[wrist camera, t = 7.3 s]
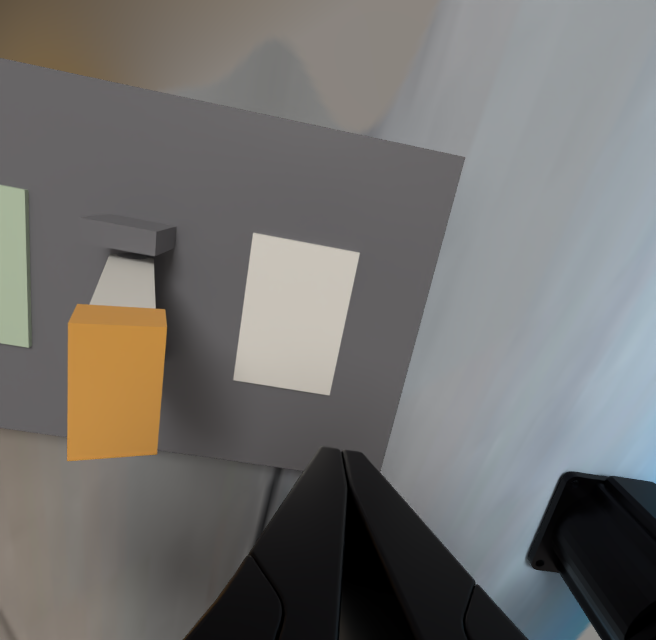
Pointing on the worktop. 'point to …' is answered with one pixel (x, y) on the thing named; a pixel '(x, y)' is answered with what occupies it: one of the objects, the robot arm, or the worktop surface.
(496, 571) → the worktop surface
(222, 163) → the breaker block
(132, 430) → the breaker lever
